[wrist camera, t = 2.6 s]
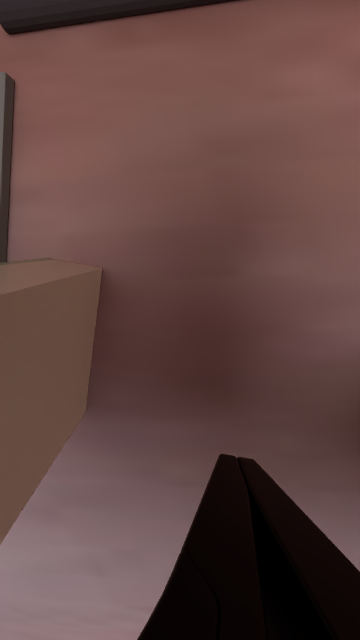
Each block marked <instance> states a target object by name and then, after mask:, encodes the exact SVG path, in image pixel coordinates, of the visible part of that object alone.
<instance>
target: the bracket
mask: <svg viewBox="0 0 360 640" xmlns="http://www.w3.org/2000/svg"><path fill="white" fill-rule="evenodd" d="M225 1H232V0H0V24H1V26H2V27H3V29H4V30H5V31H6V32H7V33H8V34H12V33H19V32H26V31H32V30H39V29H46V28H52V27H59V26H66V25H72V24H79V23H86V22H92V21H99V20H106V19H112V18H119V17H126V16H132V15H139V14H145V13H152V12H159V11H165V10H172V9H179V8H185V7H192V6H199V5H205V4H212V3H219V2H225Z"/></svg>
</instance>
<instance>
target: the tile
mask: <svg viewBox="0 0 360 640" xmlns="http://www.w3.org/2000/svg"><path fill="white" fill-rule="evenodd" d="M101 276H102V268H99V267H94V266H88V265H83V264H77V263H72V262H66V261H61V260H55V259H50V258H45V259H34V260H24V261H13V262H3V263H0V544H1V543H2V541H3V539H4V538H5V536H6V535H7V533H8V532H9V530H10V528H11V527H12V525H13V524H14V522H15V521H16V519H17V518H18V516H19V514H20V513H21V511H22V510H23V508H24V507H25V505H26V504H27V502H28V500H29V499H30V497H31V496H32V494H33V493H34V491H35V489H36V488H37V486H38V485H39V483H40V482H41V480H42V479H43V477H44V475H45V474H46V472H47V471H48V469H49V468H50V466H51V465H52V463H53V461H54V460H55V458H56V457H57V455H58V454H59V452H60V450H61V449H62V447H63V446H64V444H65V443H66V441H67V440H68V438H69V436H70V435H71V433H72V432H73V430H74V429H75V427H76V426H77V424H78V422H79V421H80V419H81V418H82V416H83V415H84V413H85V411H86V404H87V395H88V387H89V378H90V370H91V361H92V353H93V344H94V336H95V327H96V319H97V310H98V302H99V293H100V285H101Z"/></svg>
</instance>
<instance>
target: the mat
mask: <svg viewBox="0 0 360 640" xmlns="http://www.w3.org/2000/svg"><path fill="white" fill-rule="evenodd" d="M13 102H14V80H13V79H12V78H11V77H10V76H9V75H8V74H6V73H5V72H0V263H3V262H6V252H7V231H8V209H9V188H10V166H11V145H12V123H13Z"/></svg>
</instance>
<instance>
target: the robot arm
mask: <svg viewBox="0 0 360 640" xmlns="http://www.w3.org/2000/svg"><path fill="white" fill-rule="evenodd" d="M137 640H360V571H359V570H358V569H357V568H356V567H355V566H354V565H353V564H352V563H351V562H350V561H349V560H348V559H347V558H346V557H345V556H344V554H343V553H342V552H341V551H340V550H339V549H338V548H337V547H336V546H335V545H334V544H333V543H332V542H331V541H330V540H329V539H328V538H327V536H326V535H325V534H324V533H323V532H322V531H321V530H320V529H319V528H318V527H317V526H316V525H315V524H314V523H313V522H312V521H311V520H310V518H309V517H308V516H307V515H306V514H305V513H304V512H303V511H302V510H301V509H300V508H299V507H298V506H297V505H296V504H295V503H294V502H293V501H292V499H291V498H290V497H289V496H288V495H287V494H286V493H285V492H284V491H283V490H282V489H281V488H280V487H279V486H278V485H277V484H276V483H275V481H274V480H273V479H272V478H271V477H270V476H269V475H268V474H267V473H266V472H265V471H264V470H263V469H262V468H261V467H260V466H259V465H258V464H257V462H256V461H254V460H253V459H249V458H243V457H238V458H236V457H235V456H232V455H226V454H220V455H219V457H218V459H217V462H216V464H215V467H214V469H213V472H212V474H211V477H210V479H209V482H208V484H207V487H206V489H205V492H204V494H203V497H202V499H201V502H200V504H199V507H198V510H197V512H196V515H195V517H194V520H193V522H192V525H191V527H190V530H189V532H188V535H187V537H186V540H185V542H184V545H183V547H182V550H181V553H180V554H179V556H178V559H177V561H176V564H175V566H174V569H173V571H172V574H171V576H170V578H169V580H168V582H167V585H166V587H165V589H164V591H163V594H162V596H161V597H160V599H159V601H158V603H157V605H156V607H155V609H154V610H153V612H152V614H151V616H150V618H149V620H148V622H147V623H146V625H145V627H144V629H143V630H142V632H141V634H140V636H139V637H138V639H137Z"/></svg>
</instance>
